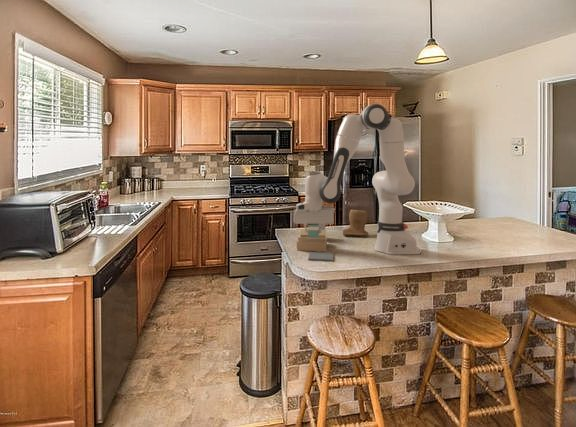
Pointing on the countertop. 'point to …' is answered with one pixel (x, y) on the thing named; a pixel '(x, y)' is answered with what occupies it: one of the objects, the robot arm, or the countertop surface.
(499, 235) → the countertop surface
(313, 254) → the mat
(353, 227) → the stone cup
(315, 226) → the tea box
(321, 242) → the carton
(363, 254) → the countertop surface
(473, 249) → the countertop surface
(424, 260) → the countertop surface
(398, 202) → the robot arm
